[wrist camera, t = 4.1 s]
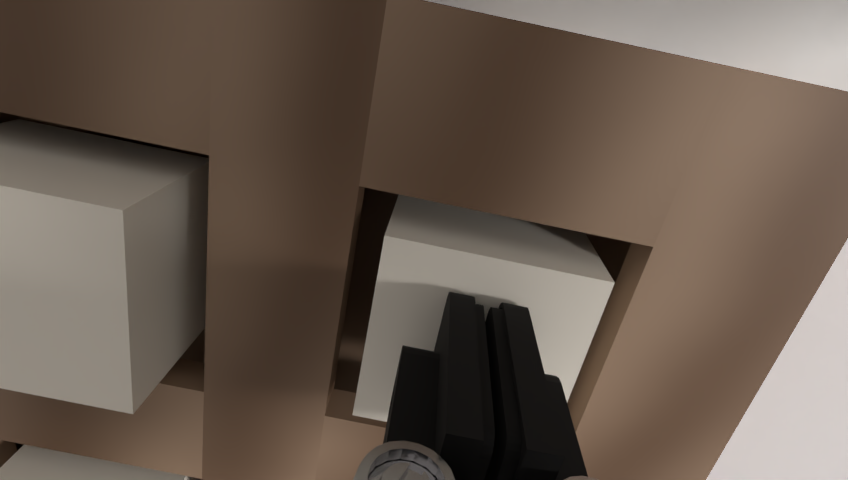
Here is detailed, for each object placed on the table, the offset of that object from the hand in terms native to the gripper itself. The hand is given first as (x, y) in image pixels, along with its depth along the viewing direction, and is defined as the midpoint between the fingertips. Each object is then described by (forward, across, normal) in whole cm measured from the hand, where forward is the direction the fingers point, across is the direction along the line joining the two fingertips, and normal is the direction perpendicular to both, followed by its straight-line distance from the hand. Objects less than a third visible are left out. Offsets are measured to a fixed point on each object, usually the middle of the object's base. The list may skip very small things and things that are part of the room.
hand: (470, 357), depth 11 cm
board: (+5, +4, +4) cm, 8 cm away
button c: (+2, +9, 0) cm, 9 cm away
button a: (+4, 0, 0) cm, 4 cm away
